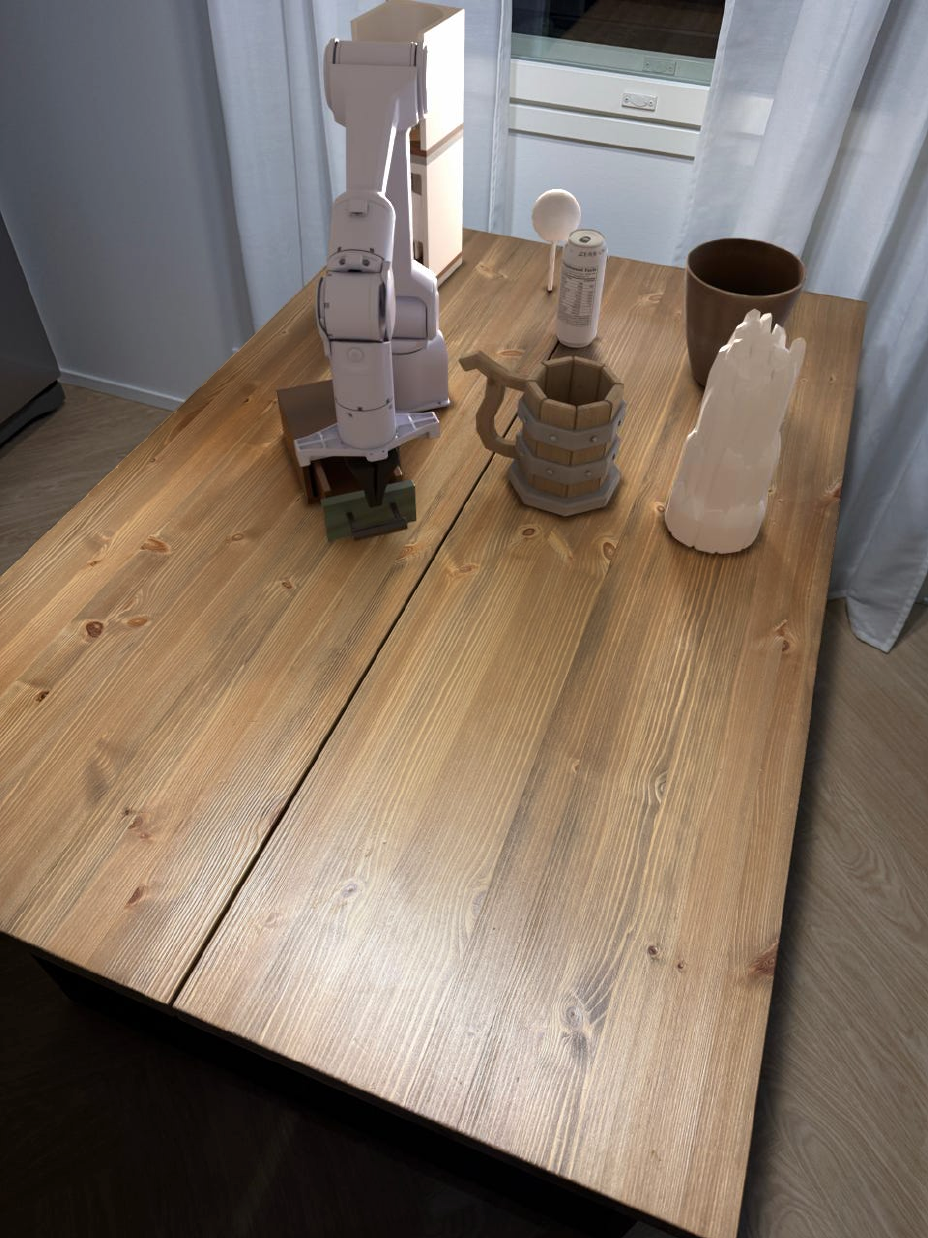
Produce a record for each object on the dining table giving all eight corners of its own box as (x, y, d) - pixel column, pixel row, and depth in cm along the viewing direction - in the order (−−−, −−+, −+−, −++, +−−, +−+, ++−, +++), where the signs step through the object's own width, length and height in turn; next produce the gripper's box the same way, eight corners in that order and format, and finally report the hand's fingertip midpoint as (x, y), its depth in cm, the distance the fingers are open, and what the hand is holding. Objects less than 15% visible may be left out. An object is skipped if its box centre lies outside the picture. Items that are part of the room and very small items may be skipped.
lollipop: (573, 279, 141) (583, 181, 129) (572, 302, 136) (582, 203, 125) (528, 276, 141) (534, 179, 130) (525, 299, 136) (532, 200, 125)
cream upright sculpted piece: (758, 560, 100) (829, 367, 81) (662, 546, 101) (710, 352, 82) (757, 497, 107) (822, 306, 88) (667, 485, 108) (713, 293, 89)
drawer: (427, 544, 100) (426, 509, 96) (337, 566, 97) (332, 531, 93) (386, 455, 110) (383, 420, 106) (303, 473, 108) (297, 438, 104)
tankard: (628, 464, 111) (648, 358, 99) (595, 527, 103) (612, 420, 92) (482, 422, 116) (485, 317, 105) (440, 479, 109) (438, 372, 97)
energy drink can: (603, 335, 130) (617, 234, 119) (582, 354, 127) (595, 252, 115) (567, 322, 132) (578, 222, 121) (546, 340, 129) (555, 239, 118)
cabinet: (401, 483, 108) (399, 436, 103) (308, 504, 105) (300, 456, 100) (371, 419, 116) (367, 372, 111) (284, 436, 114) (275, 389, 108)
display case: (404, 248, 147) (393, -3, 120) (462, 262, 144) (464, 8, 117) (369, 279, 140) (350, 20, 114) (429, 295, 137) (424, 33, 111)
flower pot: (750, 420, 117) (785, 308, 105) (646, 384, 122) (667, 274, 110) (787, 365, 125) (822, 256, 113) (688, 334, 130) (712, 227, 118)
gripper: (298, 433, 81) (316, 540, 91) (449, 402, 84) (449, 509, 95) (282, 390, 85) (300, 497, 96) (426, 362, 89) (429, 469, 99)
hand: (373, 500), depth 96 cm, fingers closed
